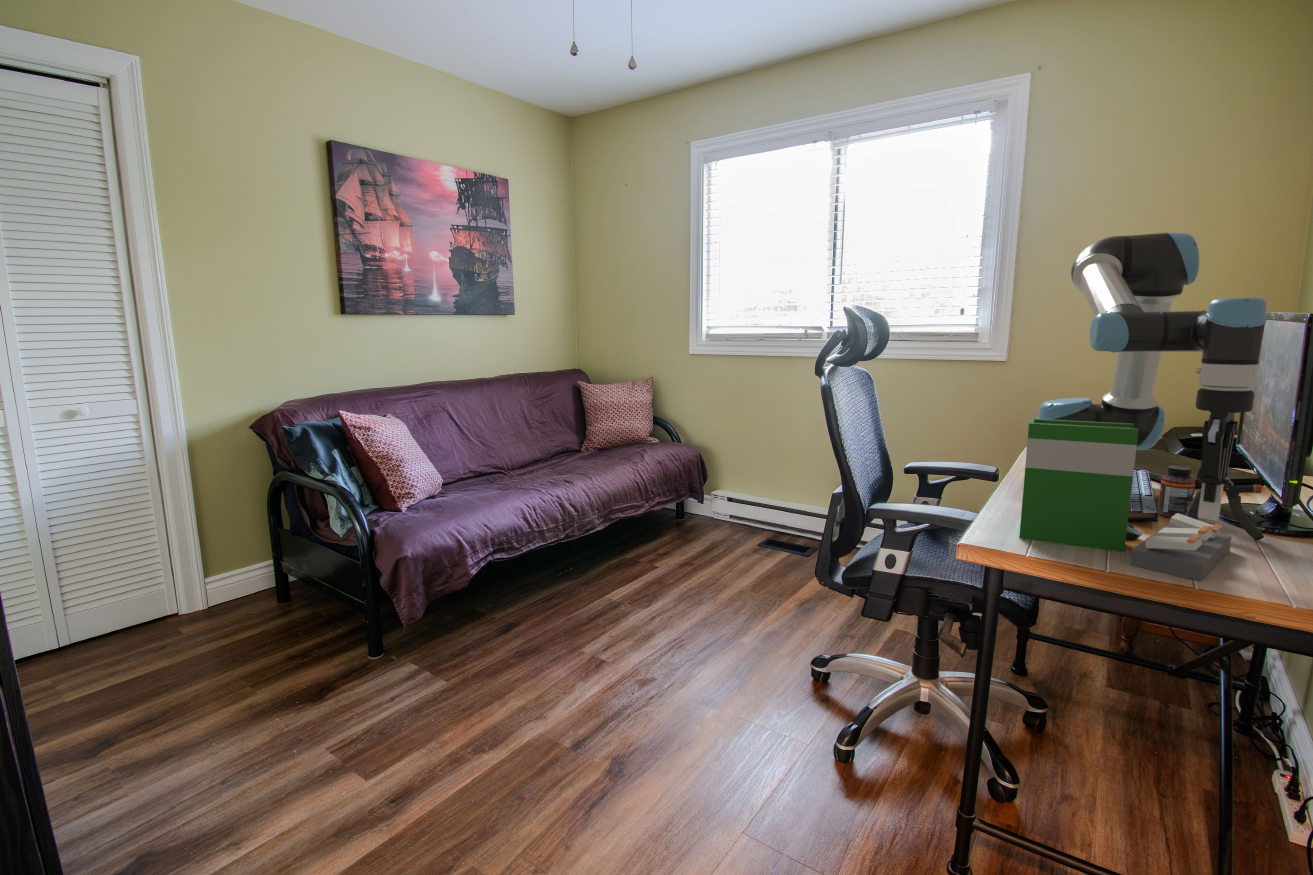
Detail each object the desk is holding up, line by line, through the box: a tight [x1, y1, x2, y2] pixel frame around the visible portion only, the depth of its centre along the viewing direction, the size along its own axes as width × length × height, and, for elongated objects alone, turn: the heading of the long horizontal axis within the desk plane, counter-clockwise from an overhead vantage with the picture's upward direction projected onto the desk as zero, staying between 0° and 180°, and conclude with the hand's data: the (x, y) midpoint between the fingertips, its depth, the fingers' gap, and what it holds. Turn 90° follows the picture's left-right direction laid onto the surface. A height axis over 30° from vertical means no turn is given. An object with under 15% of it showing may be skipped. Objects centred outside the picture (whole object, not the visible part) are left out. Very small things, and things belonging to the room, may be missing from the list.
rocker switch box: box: [1130, 524, 1233, 582], centre depth 121 cm, size 27×10×3 cm, turn 129°
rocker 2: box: [1168, 513, 1223, 539], centre depth 123 cm, size 4×7×2 cm, turn 39°
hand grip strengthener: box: [1186, 466, 1265, 542], centre depth 129 cm, size 2×12×15 cm, turn 51°
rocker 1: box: [1145, 535, 1202, 550], centre depth 114 cm, size 4×7×2 cm, turn 39°
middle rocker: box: [1156, 526, 1212, 540], centre depth 118 cm, size 4×7×2 cm, turn 39°
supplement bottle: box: [1157, 464, 1196, 519], centre depth 144 cm, size 6×6×11 cm
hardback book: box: [1018, 417, 1139, 553], centre depth 128 cm, size 18×7×24 cm, turn 60°
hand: (1208, 518), depth 115 cm, fingers closed
